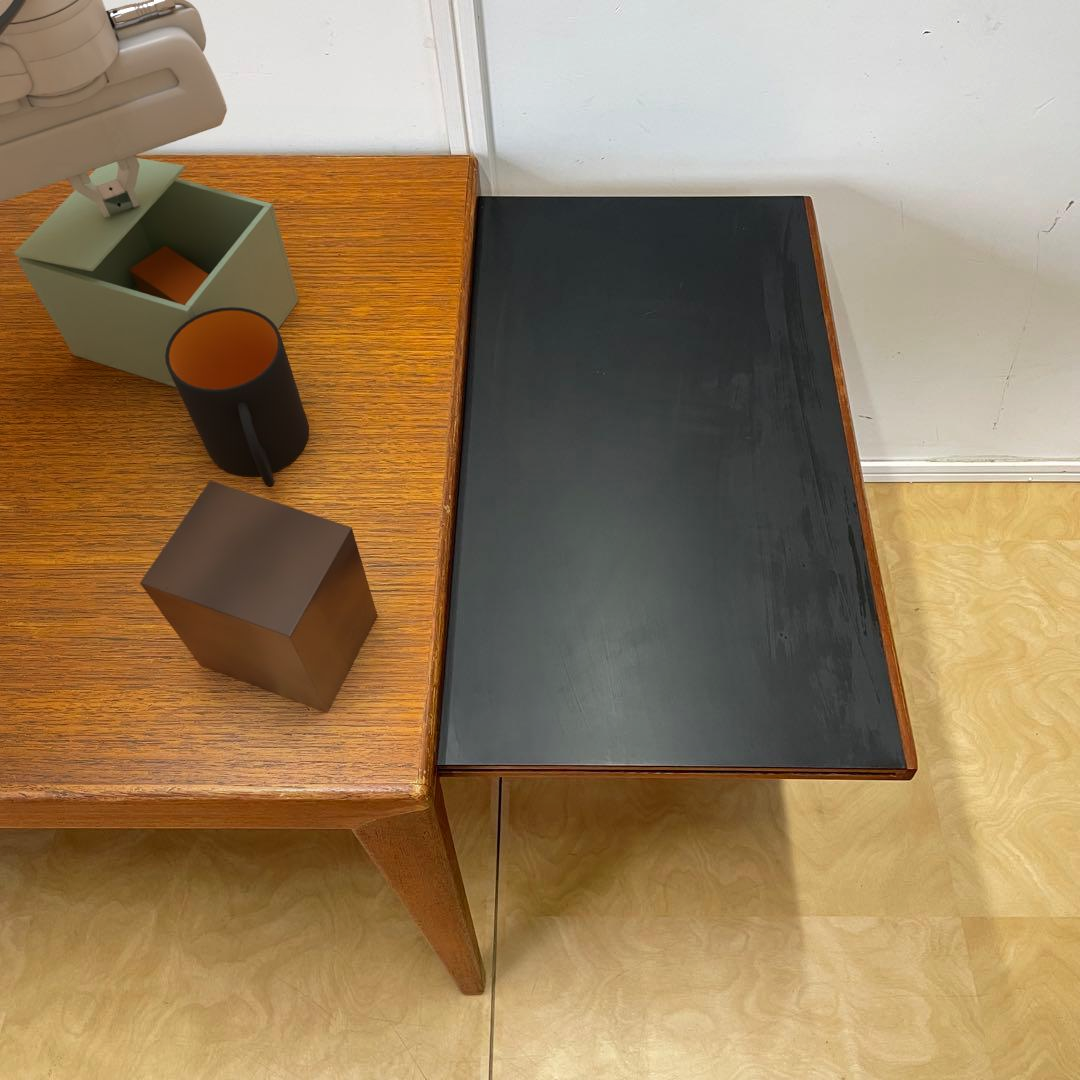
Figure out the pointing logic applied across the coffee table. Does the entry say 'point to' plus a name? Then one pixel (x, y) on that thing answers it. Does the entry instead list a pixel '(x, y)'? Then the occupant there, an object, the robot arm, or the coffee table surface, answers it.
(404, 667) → the coffee table surface
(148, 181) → the flap
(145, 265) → the block
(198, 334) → the mug
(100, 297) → the green box
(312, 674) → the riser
